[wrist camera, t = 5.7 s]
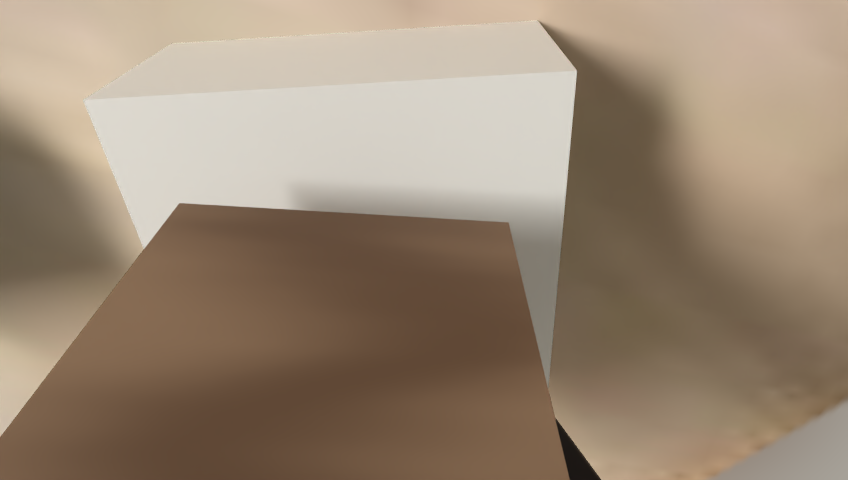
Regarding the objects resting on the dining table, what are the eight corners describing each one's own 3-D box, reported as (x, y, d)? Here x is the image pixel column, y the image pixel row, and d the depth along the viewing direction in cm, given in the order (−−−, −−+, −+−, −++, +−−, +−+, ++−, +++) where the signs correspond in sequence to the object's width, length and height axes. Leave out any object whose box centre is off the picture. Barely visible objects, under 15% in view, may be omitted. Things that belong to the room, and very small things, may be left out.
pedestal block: (535, 17, 12) (577, 70, 9) (522, 301, 16) (546, 409, 13) (176, 40, 12) (82, 99, 9) (257, 312, 17) (214, 421, 13)
